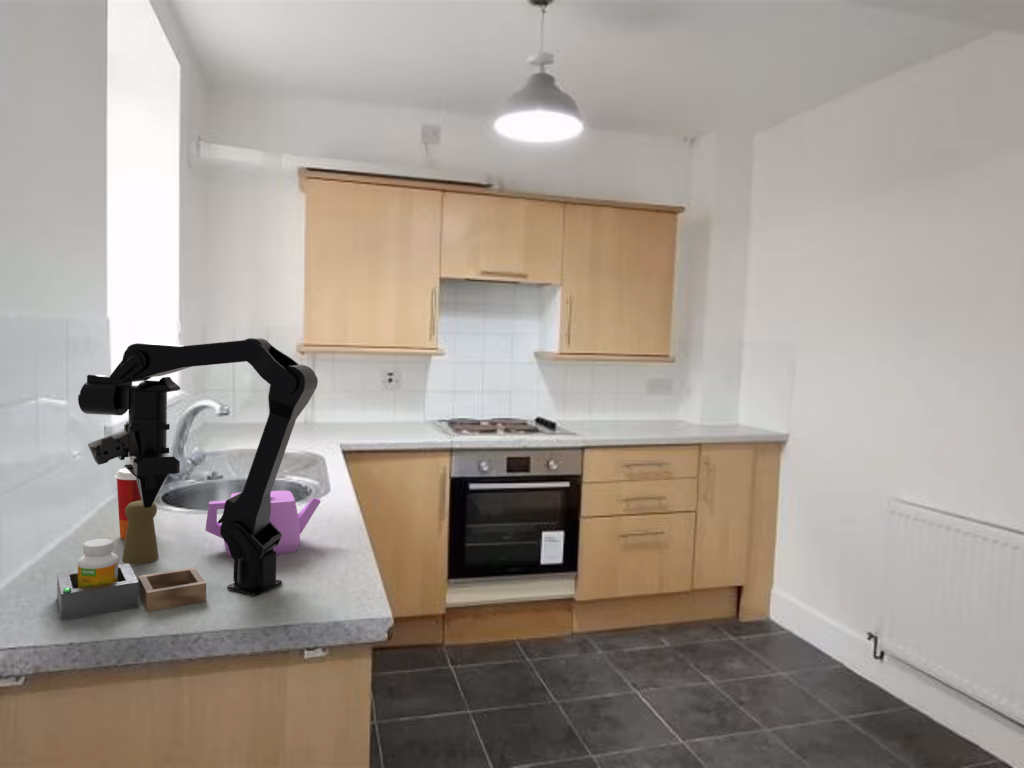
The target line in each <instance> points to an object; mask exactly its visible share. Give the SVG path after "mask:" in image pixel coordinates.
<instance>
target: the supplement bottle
mask: <svg viewBox="0 0 1024 768" xmlns="http://www.w3.org/2000/svg"><path fill="white" fill-rule="evenodd" d="M82 545H83V548H82V549H83V550H82V552H83V554H84V555H82V556H81V557H80V558H79V560H78V562H77V570H78V588H83V587H89V586H95V585H102V584H108V583H115V582H118V565H119V557H118V555H117V554H116V553H115V552H112V551H114V540H113V539H110V538H95V539H91V540H87V541H85V542H84V543H83V544H82Z"/></svg>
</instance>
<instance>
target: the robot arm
mask: <svg viewBox="0 0 1024 768" xmlns="http://www.w3.org/2000/svg"><path fill="white" fill-rule="evenodd" d="M241 362H242V363H244V362H245V363H246V362H247V363H248V364H249V365H250V366H252V368H253V369H254V370H255V372H256V373H257V374H258V375H259V377H261V379H263V380H264V381H265V382H266V383H268V384H269V391H268V397H267V399H268V417H267V419H266V422H265V425H264V429H263V431H262V434H261V437H260V439H259V443H258V446H257V448H256V451H255V455H254V457H253V461H252V463H251V466H250V469H249V471H248V475H247V478H246V480H245V484H244V486H243V489H242V491H241V493H240V492H238V493H239V494H238V495H236V496H234V497H232V498H229V499H225V500H226V503H225V506H224V509H223V512H222V516H221V518H220V519H219V520H217V522H218V523H221V527H220V535H221V536H222V537H223V538H222V539H223V542H224V541H225V542H226V543H227V545H228V548H229V551H230V553H231V556H232V557H231V559H233V578H232V579H233V583H230V584H228V585H227V589H228V590H232V591H235V592H239V593H243V594H248V595H252V596H258V595H261V594H262V593H266V592H267V591H269V590H272V589H274V588H276V587H279V586H280V585H282V584H283V581H282V580H281V579H277V554H276V553H277V552H275V551H274V550H273V549H272V548H274V547H275V546H277V545H278V544H279V542H280V539H281V537H282V534H281V533H280V532H279V531H278V529H277V528H276V527H275V526H274V525H273V524H272V523H271V522H270V521H269V519H270V513H271V500H270V494H271V491H273V487H274V485H275V481H276V478H277V475H278V472H279V470H280V467H281V465H282V461H283V459H284V455H285V452H286V449H287V448H288V444H289V440H290V438H291V435H292V431H294V430H293V429H294V427H295V424H296V421H297V419H298V417H299V415H300V414H302V412H303V411H304V409H305V408H306V406H307V405H308V403H309V401H310V400H311V398H312V397H313V395H314V393H315V391H316V389H317V387H318V384H319V383H318V382H319V380H318V376H317V375H316V373H315V371H314V370H313V368H311V367H309V366H308V365H305V364H299V363H298V362H296V360H294V359H292V357H289V355H287V354H284V353H283V352H282V351H281V350H278V349H277V348H276V347H274V345H272V344H271V343H270V342H269V341H268V340H267V339H264V338H261V337H258V338H256V337H250V338H246V339H243V340H232V341H231V340H230V341H222V342H213V343H211V342H210V343H201V344H192V345H191V344H190V345H180V344H172V343H171V344H169V343H159V342H157V343H154V342H153V343H134V344H130V345H129V346H127V348H126V349H125V351H124V352H123V356H122V360H121V361H120V362H119V363H118V365H117V366H116V367H115V369H114V370H113V371H112V372H111V374H110V375H104V374H96V373H94V374H88V375H87V376H86V382H85V383H84V384H83V385H82V387H81V389H80V391H79V394H78V397H77V403H78V406H79V408H80V410H81V412H82V413H84V414H85V415H86V414H87V415H101V416H103V415H105V416H106V415H107V416H123V415H125V414H126V413H127V412H128V421H126V423H124V425H123V427H124V428H123V430H122V431H121V432H117V433H113V434H111V435H107V436H105V437H102V438H99V439H96V440H94V441H91V442H89V443H88V444H87V446H88V448H89V451H90V453H91V455H92V457H93V459H94V462H95V463H96V464H97V465H104V464H107V463H108V462H109V461H111V460H113V459H116V458H118V459H119V460H120V461H124V460H125V459H126V458H129V463H128V464H125V465H124V468H127V469H128V470H129V471H130V472H131V473H132V474H133V475H134V476H135V477H136V480H137V484H138V488H139V492H140V496H141V500H142V504H143V507H144V508H148V507H151V506H152V504H153V502H154V503H155V500H156V497H157V496H158V494H159V491H160V489H161V488H162V486H163V484H164V482H165V480H166V479H167V477H168V475H175V474H179V473H180V468H181V464H180V463H181V462H180V460H179V459H177V458H176V457H175V456H173V455H172V454H171V453H170V447H169V446H168V445H167V437H168V435H167V431H169V430H170V426H171V425H170V422H167V421H168V420H167V419H168V416H167V415H168V411H167V410H168V393H169V392H177V391H180V389H181V387H180V385H178V384H177V383H176V382H175V381H173V380H172V378H171V377H170V376H167V375H169V374H174V373H177V372H179V371H180V372H181V371H182V370H185V369H188V368H192V367H199V366H200V367H201V366H204V367H205V366H212V365H223V364H233V363H241ZM165 375H166V376H165ZM164 376H165V377H164ZM154 377H161V378H160V380H150V379H152V378H154ZM135 382H139V383H138V385H133V383H135Z"/></svg>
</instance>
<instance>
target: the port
mask: <svg viewBox="0 0 1024 768" xmlns="http://www.w3.org/2000/svg"><path fill="white" fill-rule="evenodd" d="M137 578H138V577H136V574H135V572H134V570H133V568H132V565H131V564H129V563H121V564H119V563H118V582H115V583H108V584H102V585H95V586H89V587H83V588H78V569H77V570H70V571H64V572H57V573H56V599H57V604H58V611H59V616H60V621H68V620H72V619H79V618H84V617H90V616H97V615H100V614H106V613H112V612H117V611H123V610H129V609H134V608H138V607H139V594H138V579H137Z"/></svg>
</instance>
